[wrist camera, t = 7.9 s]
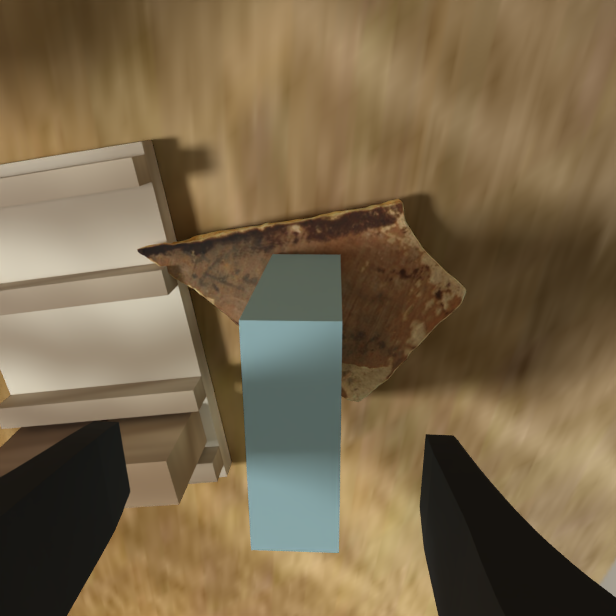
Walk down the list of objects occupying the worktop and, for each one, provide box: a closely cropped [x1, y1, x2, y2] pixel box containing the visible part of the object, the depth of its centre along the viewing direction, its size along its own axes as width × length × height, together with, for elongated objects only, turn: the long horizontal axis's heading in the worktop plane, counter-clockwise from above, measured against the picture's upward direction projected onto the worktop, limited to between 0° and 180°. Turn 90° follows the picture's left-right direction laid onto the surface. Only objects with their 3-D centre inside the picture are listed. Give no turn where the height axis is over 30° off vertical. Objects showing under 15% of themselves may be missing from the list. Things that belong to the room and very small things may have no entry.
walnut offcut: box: [0, 419, 109, 477], centre depth 22 cm, size 2×4×4 cm, turn 99°
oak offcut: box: [108, 411, 207, 508], centre depth 22 cm, size 2×4×4 cm, turn 99°
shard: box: [137, 199, 466, 402], centre depth 20 cm, size 11×8×2 cm
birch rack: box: [0, 140, 232, 484], centre depth 22 cm, size 15×9×2 cm, turn 9°
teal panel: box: [239, 254, 342, 553], centre depth 17 cm, size 2×7×7 cm, turn 1°
